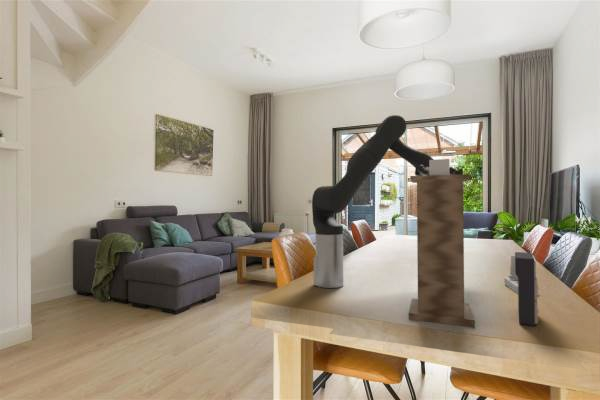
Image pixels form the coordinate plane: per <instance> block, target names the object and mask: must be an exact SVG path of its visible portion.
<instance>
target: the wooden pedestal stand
mask: <svg viewBox="0 0 600 400" xmlns="http://www.w3.org/2000/svg"><path fill="white" fill-rule="evenodd" d="M409 177H410V178H409V179H410V180H409V181H410V182H412V183H414V184H415V183H416V214H417V215H416V218H417V219H416V220H417V221H416V222H417V223H416V229H417V230H416V232H417V233H416V234H417V237H416V239H417V241H416V243H417V249H416V250H417V252H416V253H417V298H411V301H410V306H409V308H408V309H409V310H408V320H409V321H410V320H412V321H419V322H420V321H421V322H427V323H437V324H447V325H455V326H464V327H470V328H471V327H473V328H475V327H476V320H475V316H474V314H473V312H472V308H471V306H470V303H465V253H464V250H465V247H464V246H465V244H464V243H465V240H464V239H465V236H464V234H465V233H464V232H465V231H464V225H465V224H464V182H467V181H469V180H470V179H471V174H470V173H468V174H465V173H463V174H461V175H429V176H416V175H410V176H409Z"/></svg>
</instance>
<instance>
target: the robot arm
mask: <svg viewBox="0 0 600 400" xmlns="http://www.w3.org/2000/svg"><path fill="white" fill-rule="evenodd" d="M406 130H407V122H406V120H405V118H404V117H403V116H401V115H400V114H391V115H388V116H387V117H386V118H384V119H383V121H382V122H381V123H380V124H379V125H378V126H377V127H376V129H375V133H374V134H373V135H372V136H371V137H370V138H369V139H367V140H366V141H365V142H364V143H363V144H362V145H361V146H359V148H358V149H357V150H355V152H354V153H353V154H352V155H351V157H350V158H349V159H348V161H347V165H346V171H345V175H343V177H342V178H341V179H340V180H339V181H338V182H336V183H335V184H333V185H323V186H319V187H317V188H316V189H315V190H314V191H313V194H312V199H311V209H312V210H311V211H312V223H313V227H314V231H315V256H314V257H313V286H314V285H315V286H314V287H316V286H317V287H319V288H324V289H325V288H326V289H336V288H342V287H343V286H344V227H343V225H342V224H341V223H339V222H338V221H337V220H336V218H335V214H339V213H341V212H343V211H344V210H345V209H346V208H347V207H348V205H349V204H350V203H351V201H352V199H353V197H354V196H355V194H356V193H357V191H358V190H359V189H360V187H361V186H362V185H363V184H364V182H365V181H366V180H367V178H368V177H369V176H370V175H371V174H372V172H373V171H374V170H375V169H376V168H377V167H378V165H379V164H380V162H381V161H382V160H383V159H384V157H385V155H386V153H387V152H388V151H389V150H391V151H392V152H393V153H395V154H396V155H398V156H399V157H400V158H402V159H404V160H405V161H406V162H408V163H409V164H410V165H411V166H412V167H414V168H415V169H414V170H415V171H414V176H429V160H435V159H434V158H433V157H432V156H431V155H429V154H428V153H426V152H424V151H422V150H419V149H416V148H414V147H411V146H409V145H407V144H405V142H403V141H402V140H401V139H400V138H401V137H403V135H405V133H406ZM449 168H450V175H461V174H464V170H463V169H460V168H459V169H458V170H457V168H455V167H453V166H449Z"/></svg>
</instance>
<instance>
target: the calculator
mask: <svg viewBox="0 0 600 400" xmlns="http://www.w3.org/2000/svg"><path fill="white" fill-rule="evenodd" d="M514 256H515V273H516V275H517V277H518V293H517V297H518V298H517V302H518V303H517V305H518V307H517V309H518V311H517V313H518V324H519V325H525V326H530V327H531V326H532V327H535V326H536V324H539V323H538V322H539V318H538V314H539V310H538V309H539V308H538V305H539V304H538V294H539V282H538V279H537V260H536V258H535V255H533V253H532V252H522V251H521V252H520V251H515V252H514Z"/></svg>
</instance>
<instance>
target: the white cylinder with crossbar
mask: <svg viewBox="0 0 600 400" xmlns="http://www.w3.org/2000/svg"><path fill="white" fill-rule="evenodd" d="M429 175H450V158H444V159H443V158H442V159H434V160H429Z"/></svg>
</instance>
